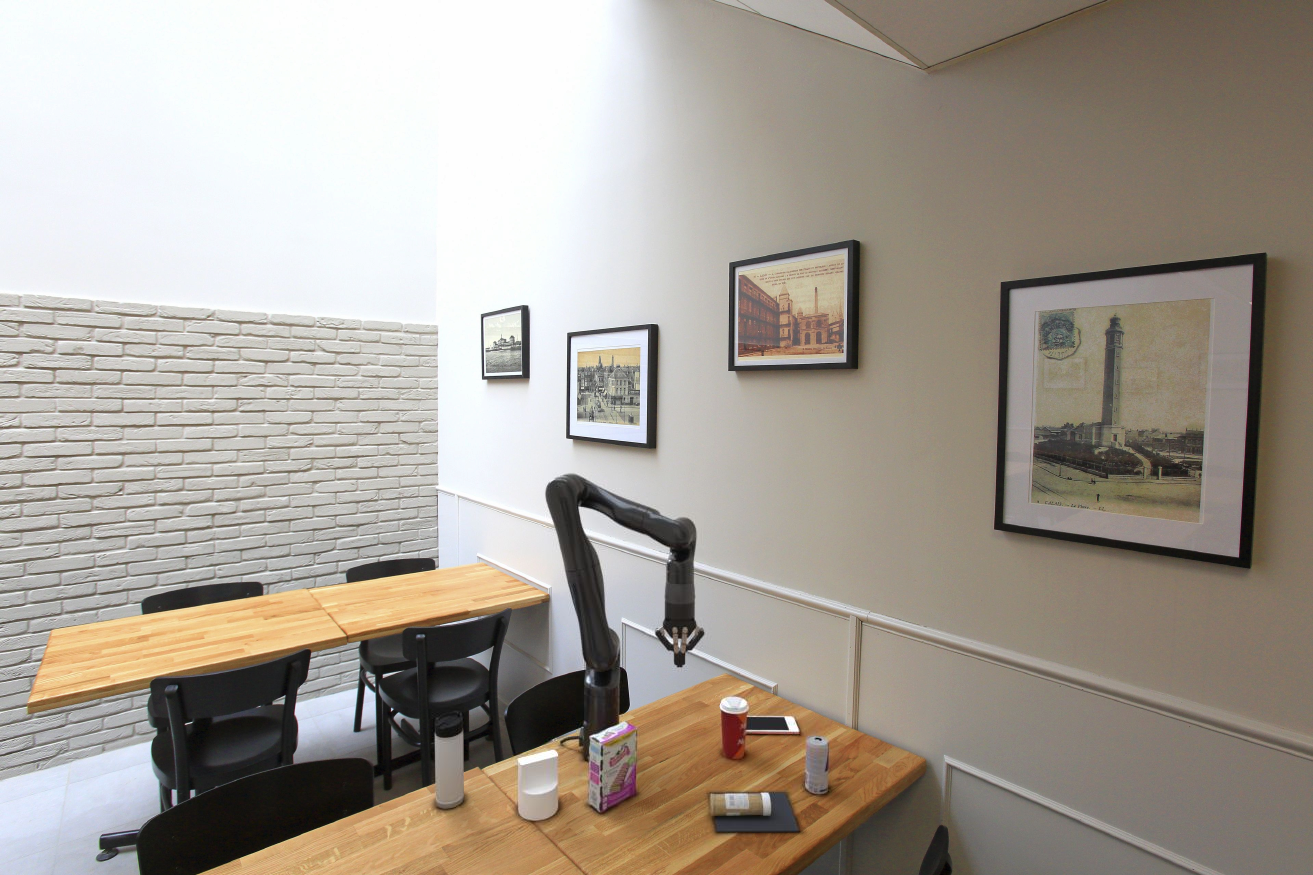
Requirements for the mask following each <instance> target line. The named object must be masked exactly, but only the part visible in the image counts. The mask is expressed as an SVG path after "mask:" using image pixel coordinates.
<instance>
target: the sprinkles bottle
mask: <svg viewBox="0 0 1313 875" xmlns="http://www.w3.org/2000/svg"><path fill="white" fill-rule="evenodd" d="M709 811H710V816H711V817H714V816H739V815H762V816H770V815H771V801H770V796H769V793H758V794H747V793H740V794H710V793H709Z"/></svg>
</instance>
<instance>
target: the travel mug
mask: <svg viewBox="0 0 1313 875" xmlns="http://www.w3.org/2000/svg"><path fill="white" fill-rule="evenodd" d="M464 765H465V764H464V716H463V714H462V712H461V711H457V710H453V711H452V712H451V711H450V712H447V713H444V714H441V715H440V716H438V717H437V718H436V719H435V721H434V767H435V768H434V771H435V774H434V775H435V805H436V807H438V808H439V809H444V810H446V809H447V810H449V809H453V808H455V807H458V806H460V804H462V803H463V801H464V800H465V794H464V793H465V783H464V782H465V780H464V779H465V778H464V777H465V775H464V771H465V770H464V768H465V767H464Z"/></svg>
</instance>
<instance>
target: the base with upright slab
mask: <svg viewBox="0 0 1313 875" xmlns="http://www.w3.org/2000/svg"><path fill="white" fill-rule="evenodd" d="M517 786H518V787H517V789H518V790H517V803H518V804H517V805H518V806H517V810H518V811H517V812H518V814H519V815H520V817H521V818H523V819H525V820H527V821H536V822H537V821H544V820H547V819H549V818H551V817H552V816H554V815H555V814H556V813H557V811H558V809H559V754H558V752H557V751H556V750H555V749H551V750H546V751H542V752H538V753H535V754H531V755H527V756H523V757H519V758H517Z"/></svg>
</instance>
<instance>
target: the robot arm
mask: <svg viewBox="0 0 1313 875" xmlns="http://www.w3.org/2000/svg"><path fill="white" fill-rule="evenodd" d="M544 496H545V502H546V505H547V509H548V512H549V514H550V517H551V520H552V523H553V526H554V529H555V533H556V536H557V540H558V541H557V542H558V545H559V548H560V554H561V558H562V564H563V567H564V572H565V577H566V581H567V586H568V589H569V593H570V597H571V600H572V604H573V607H574V611H575V614H576V617H577V623H578V628H579V633H580V642H581V653H582V658H583V660H584V662H585V672H584V682H583V687H584V688H583V691H584V692H583V703H584V704H583V706H584V707H583V710H584V711H583V712H584V713H583V716H584V718H583V719H584V720H583V723H582V724H583V725H582V726H583V727H580V730H579V735H571V736H567V737H564V738H563V739H561V740H559V744H560V745H563V744H564V743H565V742H569V741H574V740H578V747H579V748H580V747H581V748H582V749H583V750H582V751H583V752H582V753H583V754H582V755H583V761H584V760H585V761H589V736H592V735H594V734H596V733H599V732H601V731H603V730H606V729H608V728H610V727H613V726H615V725H617V724H620V682H621V681H620V680H621V640H620V637H619V635H618V633H617V632H616V631H615V630H614V629H613V628H611V627H610V626H609V623H608V619H607V613H606V594H605V592H606V591H605V581H604V574H603V571H602V570H603V569H602V566H601V562H600V558H599V555H598V552H597V551H596V550H597V549H596V548H595V547H594V545H593V543H592V541H590V538H589V537H588V536H587V534H586V532H585V530H584V526H583V523H582V519H581V514H580V508H585V509H589V510H593V511H596V512H597V513H600V514H602V515H604V516H606V517H607V518H608V519H610V520H611V521H613V522H614V523H616V524H618V525H619V526H621V527H623V528H625V529H628V530H630V531H632V532H635V533H638V534H640V535H644V536H647V537H648V538H650V539H651V540H654V541H655V542H657V543H658V544H661V545H662V546H664V547H666V548H669V555H668V557H667V559H666V564H665V585H664V619H663V621H662V625H660V626H659V627H657V628H655V629H654V634H655V636H656V638H657V639H658V640H659V641H660V643H661V644H662V645H663V646H664V648H665V649H666V650H667V651H668V652H672V653H673V664H674V666H676V668H683V667H684V666H685V665H686V653H687V652H689V651H690V652H691V651H693V649H694V648H695V647H696V646H697V644H698V643H699V642H700V641H701V639H703V637H704V636H705V629H704V628H703V627H700V626H698V624H697V620H696V615H695V614H696V607H695V606H696V587H695V555H696V548H697V547H696V546H697V539H698V538H697V537H698V536H697V535H698V533H697V527H696V524H695V523H694V522H693V520H691V519H690V518H688V517H685V516H680V517H677V518H675V519H673V518H670V517H667V516H664V515H662V514H661V512H660V511H659V510H657V509H656V508H653V507H650V506H648V505H645V504H642V503H639V502H636V501H634V500H631V499H628V498H626V497H623V496H621V495H618V494H616V493H613V492H611V491H610V490H607V489H605V488H603V487H601V486H599V485H597V484H595V483H594V482H592V481H590V480H588V479H586V478H585V477H583V476H581V475H579V474H577V473H573V472H572V473H571V472H570V473H569V472H568V473H564V474H561V475H560V476H556V477H554V478H552V479H551V480H550V481H549V482H548V483H547V485H546V487H545V491H544ZM666 633H667V634H668V635H669V637H670V638H671V639H672V642H670V641H669V639H668V638H667V637H666ZM692 634H694V635H693V636H692V637H691V635H692ZM689 637H691V639H690V640H689V641H688V642H687V640H688V639H689ZM679 640H680V644H679Z"/></svg>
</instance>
